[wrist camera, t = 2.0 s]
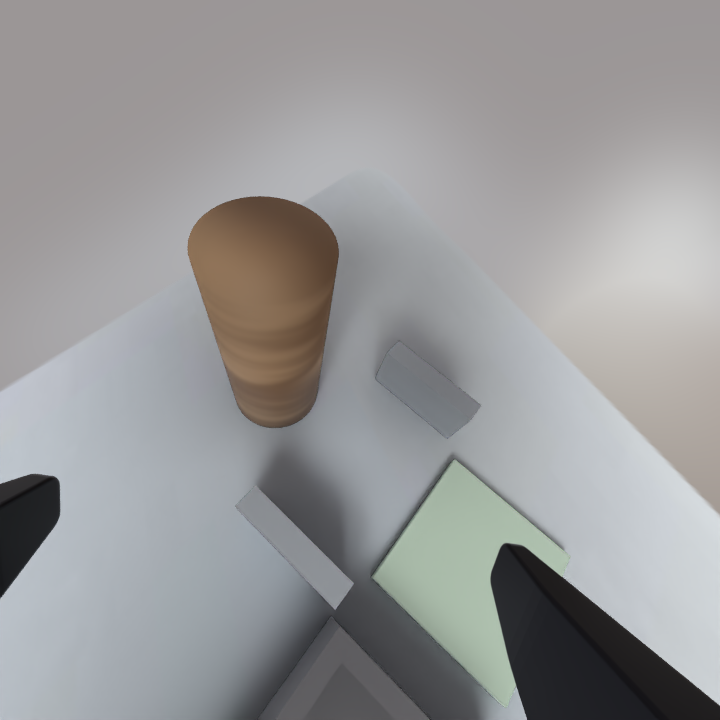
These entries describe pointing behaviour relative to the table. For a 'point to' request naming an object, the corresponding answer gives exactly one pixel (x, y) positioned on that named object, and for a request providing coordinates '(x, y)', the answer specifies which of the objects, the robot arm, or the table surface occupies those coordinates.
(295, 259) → the walnut post
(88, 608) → the table surface
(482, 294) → the table surface
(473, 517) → the pad
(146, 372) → the table surface
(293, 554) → the channel
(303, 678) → the gray open box
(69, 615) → the table surface
